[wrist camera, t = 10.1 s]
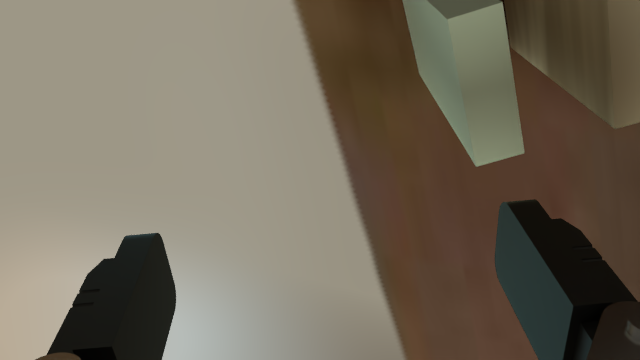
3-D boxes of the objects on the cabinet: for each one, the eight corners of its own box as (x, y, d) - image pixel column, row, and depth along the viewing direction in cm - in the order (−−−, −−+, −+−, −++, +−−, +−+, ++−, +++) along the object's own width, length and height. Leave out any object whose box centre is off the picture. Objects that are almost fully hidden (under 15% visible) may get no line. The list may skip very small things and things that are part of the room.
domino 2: (531, -73, 24) (664, -48, 15) (544, 37, 26) (666, 114, 17) (494, -61, 24) (605, -29, 15) (510, 47, 26) (615, 128, 18)
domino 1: (430, -41, 24) (502, 2, 16) (451, 64, 27) (524, 153, 18) (395, -29, 25) (447, 19, 16) (419, 74, 27) (476, 166, 18)
